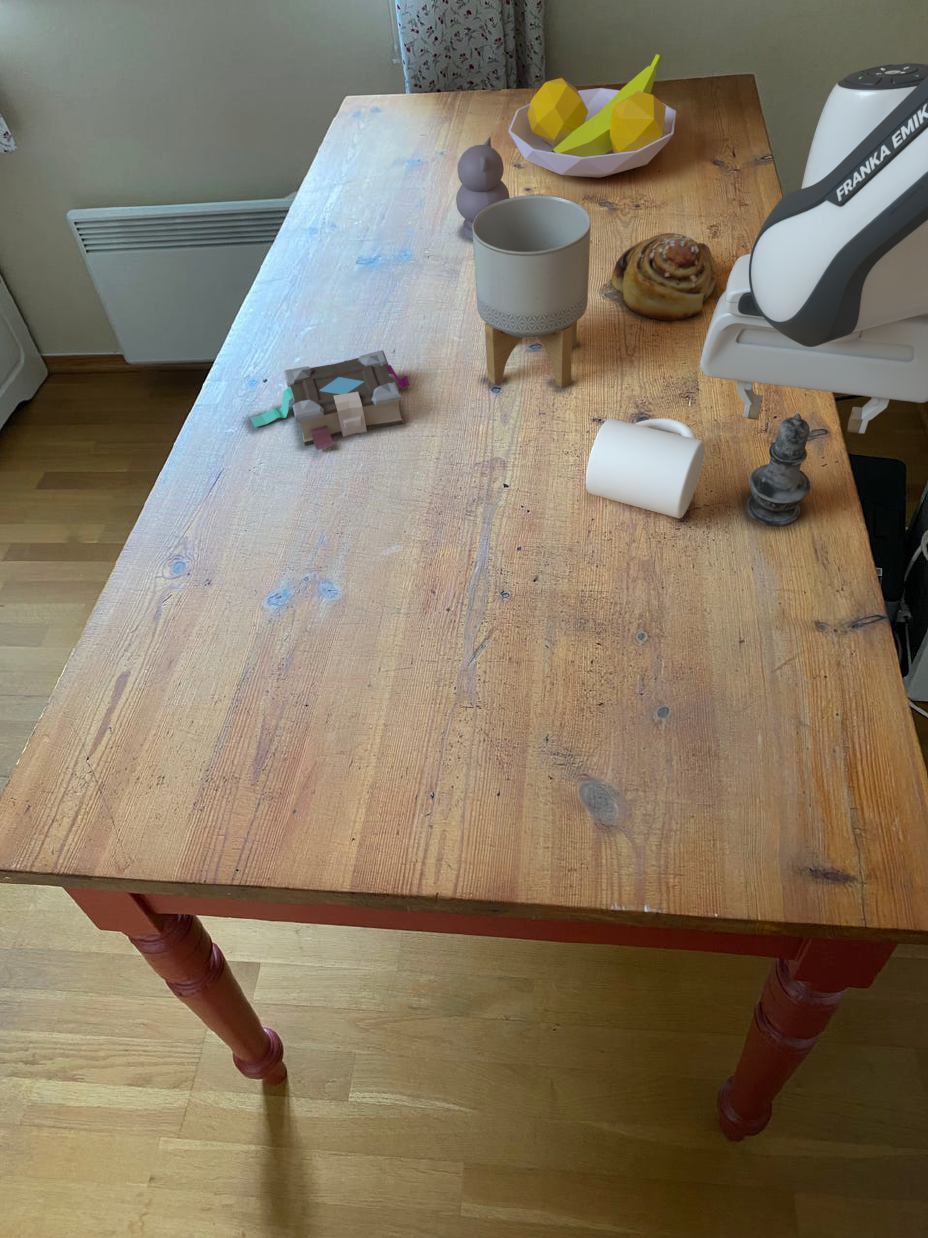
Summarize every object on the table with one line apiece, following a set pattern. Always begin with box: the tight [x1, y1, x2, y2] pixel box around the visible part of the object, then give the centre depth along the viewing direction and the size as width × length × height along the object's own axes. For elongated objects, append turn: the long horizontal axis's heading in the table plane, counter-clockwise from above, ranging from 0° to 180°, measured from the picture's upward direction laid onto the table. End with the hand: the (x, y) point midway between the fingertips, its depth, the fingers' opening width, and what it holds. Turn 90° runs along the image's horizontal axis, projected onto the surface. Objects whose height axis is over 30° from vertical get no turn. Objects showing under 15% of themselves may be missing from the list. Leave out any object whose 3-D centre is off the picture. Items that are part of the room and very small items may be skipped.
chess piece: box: [746, 413, 811, 527], centre depth 87 cm, size 6×6×12 cm
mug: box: [585, 418, 706, 519], centre depth 92 cm, size 12×10×8 cm
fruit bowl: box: [508, 53, 677, 179], centre depth 142 cm, size 28×27×11 cm
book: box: [249, 349, 410, 451], centre depth 104 cm, size 20×12×5 cm, turn 105°
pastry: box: [611, 232, 718, 321], centre depth 116 cm, size 13×15×8 cm
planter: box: [472, 194, 592, 389], centre depth 104 cm, size 13×13×18 cm
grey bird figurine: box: [455, 136, 511, 241], centre depth 129 cm, size 8×8×12 cm
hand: (802, 422), depth 84 cm, fingers open, 8 cm apart
